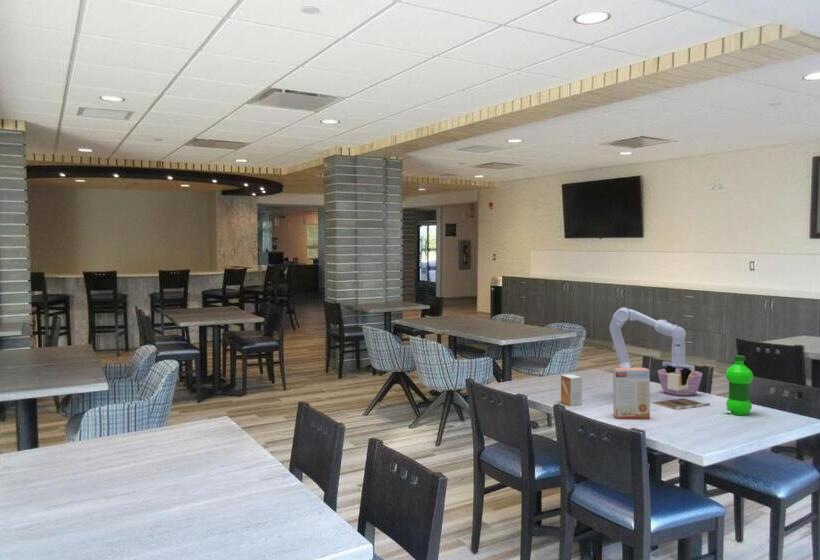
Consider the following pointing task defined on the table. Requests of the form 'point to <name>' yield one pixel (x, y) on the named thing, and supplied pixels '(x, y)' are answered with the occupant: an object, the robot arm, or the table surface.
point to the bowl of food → (692, 388)
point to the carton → (676, 381)
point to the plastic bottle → (739, 387)
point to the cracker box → (631, 393)
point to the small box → (571, 389)
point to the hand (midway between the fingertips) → (678, 383)
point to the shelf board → (681, 404)
